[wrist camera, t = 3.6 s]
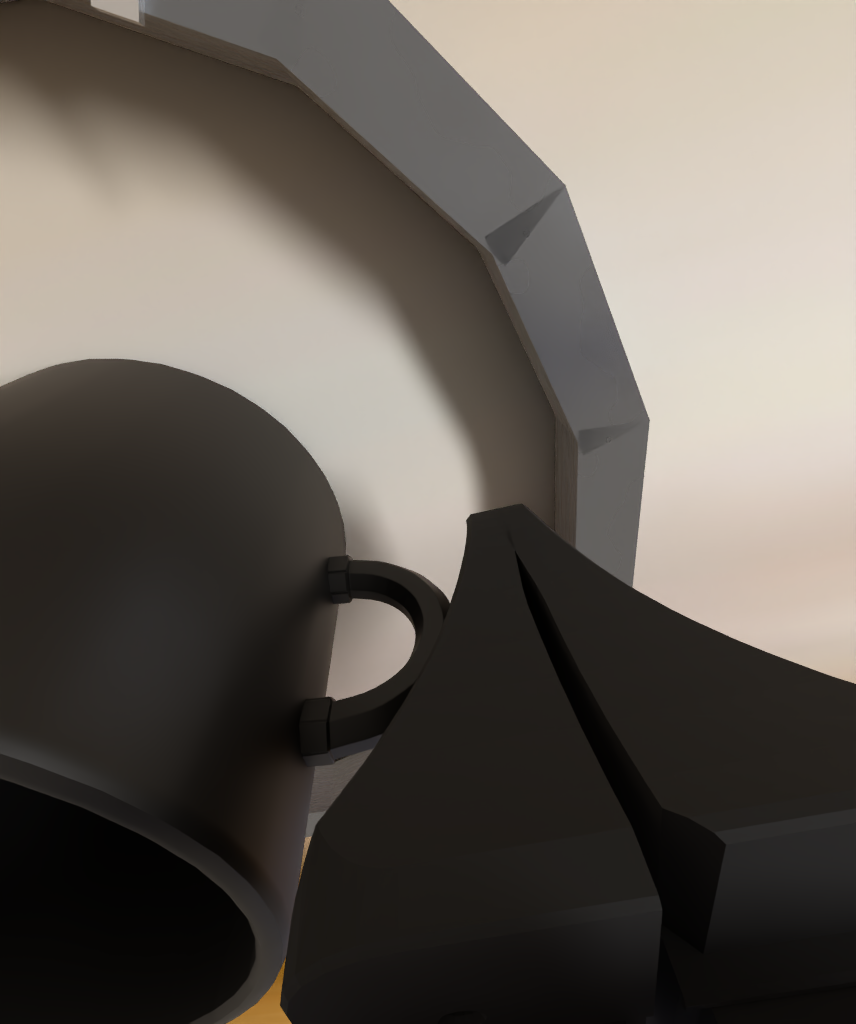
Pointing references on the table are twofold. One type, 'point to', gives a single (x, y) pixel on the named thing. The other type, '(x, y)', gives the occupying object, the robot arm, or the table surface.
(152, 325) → the table surface
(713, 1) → the table surface
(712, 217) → the table surface
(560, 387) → the ring
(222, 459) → the mug
